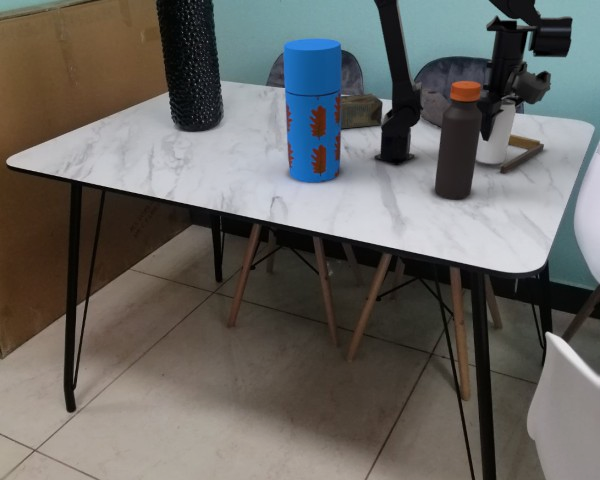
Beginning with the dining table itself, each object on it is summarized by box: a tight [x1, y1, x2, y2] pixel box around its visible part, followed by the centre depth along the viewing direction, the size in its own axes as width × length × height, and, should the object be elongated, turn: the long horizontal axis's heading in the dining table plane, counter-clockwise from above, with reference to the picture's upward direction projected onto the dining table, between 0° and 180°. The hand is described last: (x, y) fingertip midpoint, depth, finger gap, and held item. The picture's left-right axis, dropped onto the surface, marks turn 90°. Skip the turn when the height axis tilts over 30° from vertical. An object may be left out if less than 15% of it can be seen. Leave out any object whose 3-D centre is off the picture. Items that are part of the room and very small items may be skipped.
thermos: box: [282, 38, 343, 183], centre depth 113 cm, size 11×11×25 cm
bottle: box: [434, 80, 482, 200], centre depth 104 cm, size 7×7×20 cm
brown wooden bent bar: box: [499, 133, 545, 175], centre depth 123 cm, size 17×10×2 cm, turn 135°
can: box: [475, 99, 517, 165], centre depth 117 cm, size 6×6×12 cm
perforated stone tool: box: [420, 87, 451, 128], centre depth 142 cm, size 15×5×7 cm, turn 14°
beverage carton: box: [341, 93, 384, 129], centre depth 143 cm, size 8×19×7 cm, turn 102°
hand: (494, 136), depth 117 cm, fingers closed on can, 6 cm apart
